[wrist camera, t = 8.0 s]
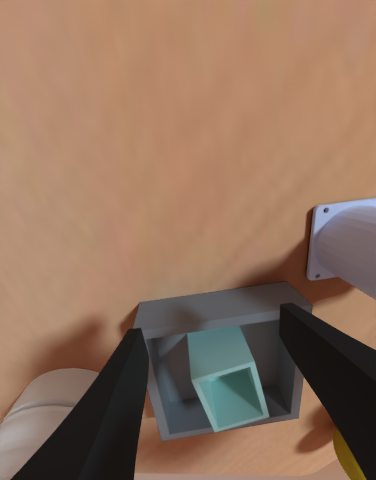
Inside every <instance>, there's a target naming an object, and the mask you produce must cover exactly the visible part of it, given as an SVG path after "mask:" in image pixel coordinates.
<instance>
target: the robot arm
mask: <svg viewBox="0 0 376 480" xmlns="http://www.w3.org/2000/svg"><path fill="white" fill-rule="evenodd" d="M325 208H326V210H325V211H324V209H325ZM316 275H317V276H316ZM306 277H307V279H309V280H310V281H314V280H321V279H328V278H335V277H339V278H341V279H342V280H344V281H346V282H347V283H349V284H350V285H352V286H354V287H355V288H357V289H359V290H360V291H362V292H364V293H365V294H367V295H369V296H370V297H372V298H374V299H375V300H376V198H370V199H362V200H355V201H347V202H339V203H332V204H324V205H318V206H316V207H315V208H314V210H313V217H312V227H311V236H310V246H309V255H308V265H307V275H306ZM279 336H280V338H281V340H282V342H283V344H284V345H285V347H286V349H287V351H288V353H289V355H290V356H291V358H292V360H293V361H294V363H295V364H296V366H297V367H298V369H299V370H300V372H301V373H302V375H303V376H304V378H305V379H306V380H307V382H308V383H309V385H310V386H311V388H312V389H313V391H314V392H315V394H316V395H317V397H318V398H319V400H320V401H321V403H322V404H323V406H324V407H325V409H326V410H327V412H328V413H329V415H330V417H331V418H332V420H333V421H334V423H335V425H336V427H337V428H338V430H339V432H340V433H341V435H342V437H343V439H344V440H345V442H346V444H347V446H348V447H349V449H350V451H351V453H352V454H353V456H354V458H355V460H356V462H357V463H358V465H359V467H360V469H361V471H362V472H363V474H364V476H365V478H366V480H376V350H374V349H372V348H371V347H369V346H367V345H365V344H363V343H361V342H359V341H357V340H356V339H354V338H352V337H350V336H348V335H346V334H345V333H343V332H341V331H339V330H338V329H336V328H334V327H332V326H331V325H329V324H327V323H326V322H324V321H322V320H321V319H319V318H317V317H316V316H314V315H312V314H311V313H309V312H307V311H306V310H304V309H302V308H301V307H299V306H297V305H295V304H294V303H292V302H291V303H285V304H280V323H279ZM148 372H149V354H148V351H147V347H146V344H145V340H144V336H143V333H142V329H141V328H135V329H129V330H128V331H127V333H126V334H125V336H124V337H123V339H122V341H121V342H120V344H119V345H118V347H117V348H116V350H115V351H114V353H113V354H112V356H111V357H110V359H109V360H108V362H107V363H106V365H105V366H104V368H103V369H102V370H101V372H100V373H99V375H98V376H97V378H96V379H95V380H94V382H93V383H92V384H91V386H90V387H89V388H88V390H87V391H86V392H85V394H84V395H83V396H82V398H81V399H80V400H79V402H78V403H77V404H76V405H75V407H74V408H73V409H72V410H71V412H70V413H69V414H68V415H67V417H66V418H65V419H64V420H63V421H62V423H61V424H60V425H59V426H58V427H57V429H56V430H55V431H54V432H53V433H52V434H51V435H50V437H49V438H48V439H47V440H46V441H45V442H44V443H43V445H42V446H41V447H40V448H39V449H38V450H37V451H36V452H35V453H34V454H33V456H32V457H31V458H30V459H29V460H28V461H27V462H26V463H25V464H24V465H23V467H22V468H21V469H20V470H19V471H18V472H17V473H16V474H15V475H14V476H13V477H12V478H11V479H10V480H134V472H135V461H136V453H137V445H138V438H139V432H140V426H141V420H142V414H143V408H144V402H145V396H146V389H147V383H148Z"/></svg>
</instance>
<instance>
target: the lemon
mask: <svg viewBox="0 0 376 480" xmlns="http://www.w3.org/2000/svg"><path fill="white" fill-rule="evenodd" d="M333 445H334V449H335V452H336V455H337V457H338V460H339V462H340V463H341V465H342V467H343V469H344V470H345V472H346V473H347V475H348V476H349V478H350V479H351V480H366V478H365V476H364V474H363V472H362V471H361V469H360V467H359V465H358V463H357V462H356V460H355V458H354V456H353V454H352V453H351V451H350V449H349V447H348V446H347V444H346V442H345V440H344V439H343V437H342V435H341V433H340V432H339V430H338V428H337V427H336V431H335V433H334V436H333Z"/></svg>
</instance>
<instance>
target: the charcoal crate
mask: <svg viewBox="0 0 376 480" xmlns="http://www.w3.org/2000/svg"><path fill="white" fill-rule="evenodd" d="M291 302H292V303H294V304H295V305H297V306H299V307H301V308H302V309H304V310H306V311H307V312H309V313H311V314H312V306H313V305H312V304H311V303H310V302H309V301H307V300H306V299H305V298H304V297H303V296H302V295H301V294H300V293H299V292H298V291H297V290H295V289H294V288H293V287H292V286H291V285H290V284H289V283H288V282H287V281H285V282H278V283H271V284H264V285H258V286H251V287H244V288H237V289H230V290H223V291H216V292H209V293H202V294H195V295H188V296H182V297H175V298H168V299H161V300H154V301H147V302H140V304H139V307H138V311H137V315H136V318H135V322H134V326H133V329H135V328H141V329H142V333H143V336H144V340H145V344H146V347H147V351H148V354H149V372H148V383H147V389H148V392H149V396H150V400H151V403H152V407H153V410H154V414H155V418H156V421H157V425H158V428H159V432H160V436H161V439H162V441H166V440H172V439H178V438H184V437H190V436H196V435H202V434H208V433H214V430H213V427H212V425H211V423H210V421H209V419H208V416H207V414H206V412H205V410H204V407H203V405H202V403H201V401H200V399H199V396H198V394H197V392H196V390H195V387H194V385H193V383H192V381H191V372H190V361H189V349H188V337H187V333H192V332H198V331H205V330H211V329H218V328H225V327H231V326H238V325H239V327H240V329H241V331H242V333H243V336H244V338H245V340H246V343H247V345H248V347H249V349H250V352H251V354H252V356H253V358H254V361H255V364H256V368H257V372H258V376H259V379H260V383H261V387H262V391H263V394H264V398H265V402H266V406H267V409H268V413H269V417H268V418H264V419H261V420H257V421H254V422H250V423H247V424H243V425H240V426H236V427H233V428H229V429H226V430H232V429H238V428H244V427H249V426H255V425H261V424H267V423H273V422H279V421H285V420H291V419H297V418H299V411H300V403H301V395H302V387H303V379H304V376H303V375H302V373H301V372H300V370H299V369H298V367H297V366H296V364H295V363H294V361H293V360H292V358H291V356H290V355H289V353H288V351H287V349H286V347H285V345H284V344H283V342H282V340H281V338H280V336H279V323H280V304H285V303H291ZM226 430H222V431H226ZM219 432H220V431H219Z"/></svg>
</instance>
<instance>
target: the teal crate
mask: <svg viewBox="0 0 376 480" xmlns="http://www.w3.org/2000/svg"><path fill="white" fill-rule="evenodd" d="M187 337H188V349H189V361H190V372H191V381H192V383H193V385H194V387H195V390H196V392H197V394H198V396H199V399H200V401H201V403H202V405H203V407H204V410H205V412H206V414H207V416H208V419H209V421H210V423H211V425H212V427H213V430H214V432H219V431H222V430H226V429H229V428H233V427H236V426H240V425H243V424H247V423H250V422H254V421H257V420H261V419H264V418H268V417H269V413H268V409H267V406H266V402H265V398H264V394H263V391H262V387H261V383H260V379H259V376H258V372H257V368H256V364H255V361H254V358H253V356H252V354H251V352H250V349H249V347H248V345H247V343H246V340H245V338H244V336H243V333H242V331H241V329H240V327H239V325H238V326H231V327H225V328H218V329H211V330H205V331H198V332H192V333H187Z"/></svg>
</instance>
